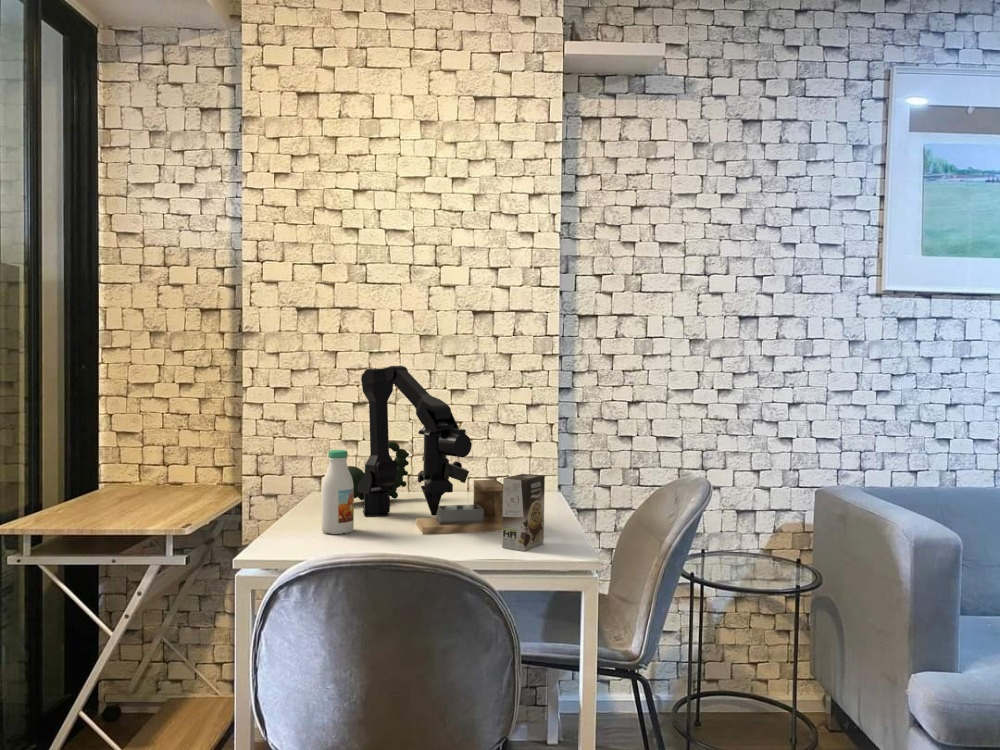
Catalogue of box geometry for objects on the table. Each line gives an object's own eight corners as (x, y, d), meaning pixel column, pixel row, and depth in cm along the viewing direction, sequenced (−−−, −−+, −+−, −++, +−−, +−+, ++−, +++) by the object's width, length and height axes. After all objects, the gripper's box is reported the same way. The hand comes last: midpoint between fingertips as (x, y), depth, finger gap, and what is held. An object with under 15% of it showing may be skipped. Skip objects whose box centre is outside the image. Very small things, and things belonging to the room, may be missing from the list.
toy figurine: (396, 502, 241) (316, 502, 228) (402, 440, 241) (323, 436, 229) (409, 507, 233) (327, 507, 220) (414, 443, 233) (333, 440, 220)
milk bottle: (326, 536, 189) (326, 453, 188) (318, 529, 195) (318, 449, 195) (357, 533, 192) (358, 451, 192) (348, 526, 199) (348, 448, 198)
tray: (440, 524, 195) (440, 509, 195) (436, 519, 201) (436, 504, 201) (483, 523, 198) (483, 508, 198) (478, 517, 204) (478, 503, 204)
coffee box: (525, 552, 176) (526, 480, 175) (501, 547, 179) (501, 477, 179) (545, 543, 184) (546, 474, 183) (521, 540, 187) (522, 472, 187)
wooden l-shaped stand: (422, 534, 192) (422, 489, 192) (416, 524, 202) (416, 481, 202) (505, 530, 197) (506, 486, 197) (495, 521, 208) (495, 479, 207)
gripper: (474, 457, 190) (472, 522, 191) (459, 448, 209) (458, 507, 209) (428, 458, 188) (427, 523, 188) (417, 449, 206) (416, 508, 206)
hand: (433, 515), depth 198 cm, fingers closed, pressing on tray
